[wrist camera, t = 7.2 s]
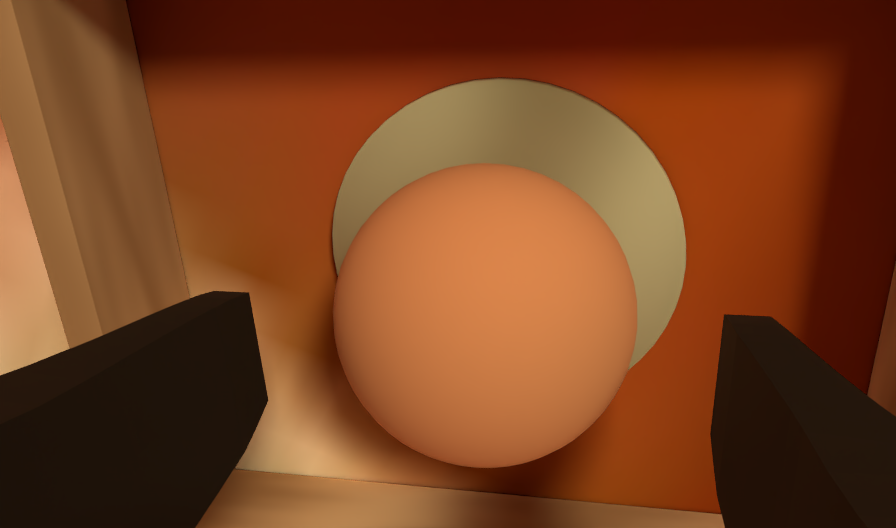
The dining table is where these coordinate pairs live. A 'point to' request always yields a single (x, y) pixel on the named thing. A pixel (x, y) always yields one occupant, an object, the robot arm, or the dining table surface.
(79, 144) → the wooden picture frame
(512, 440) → the ball
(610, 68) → the dining table surface
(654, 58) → the dining table surface
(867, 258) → the dining table surface
